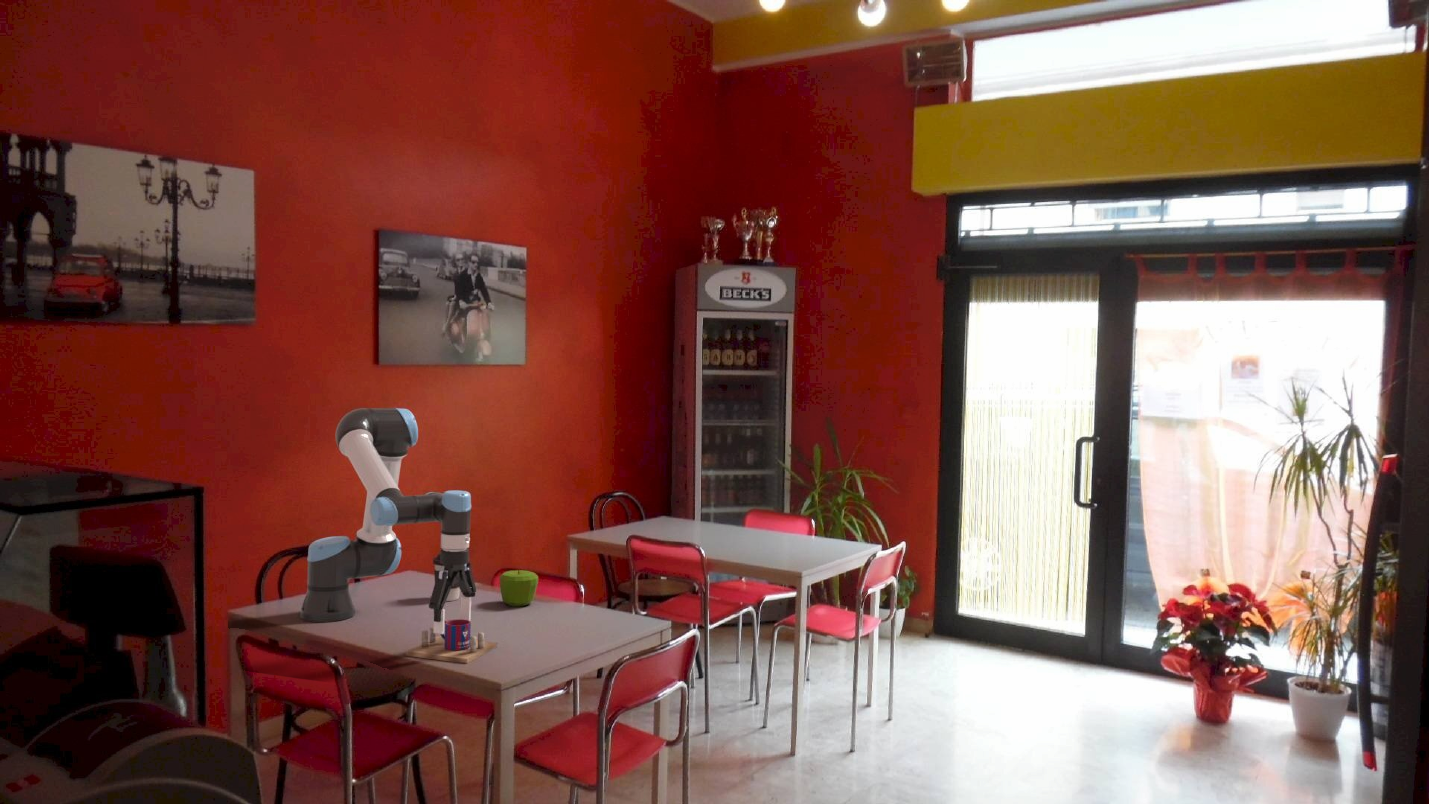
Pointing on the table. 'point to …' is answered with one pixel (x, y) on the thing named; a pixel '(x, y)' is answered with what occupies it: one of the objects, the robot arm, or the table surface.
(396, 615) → the table surface
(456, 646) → the cup
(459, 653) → the wooden peg board
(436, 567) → the coffee cup
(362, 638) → the table surface
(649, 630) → the table surface
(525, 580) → the apple
